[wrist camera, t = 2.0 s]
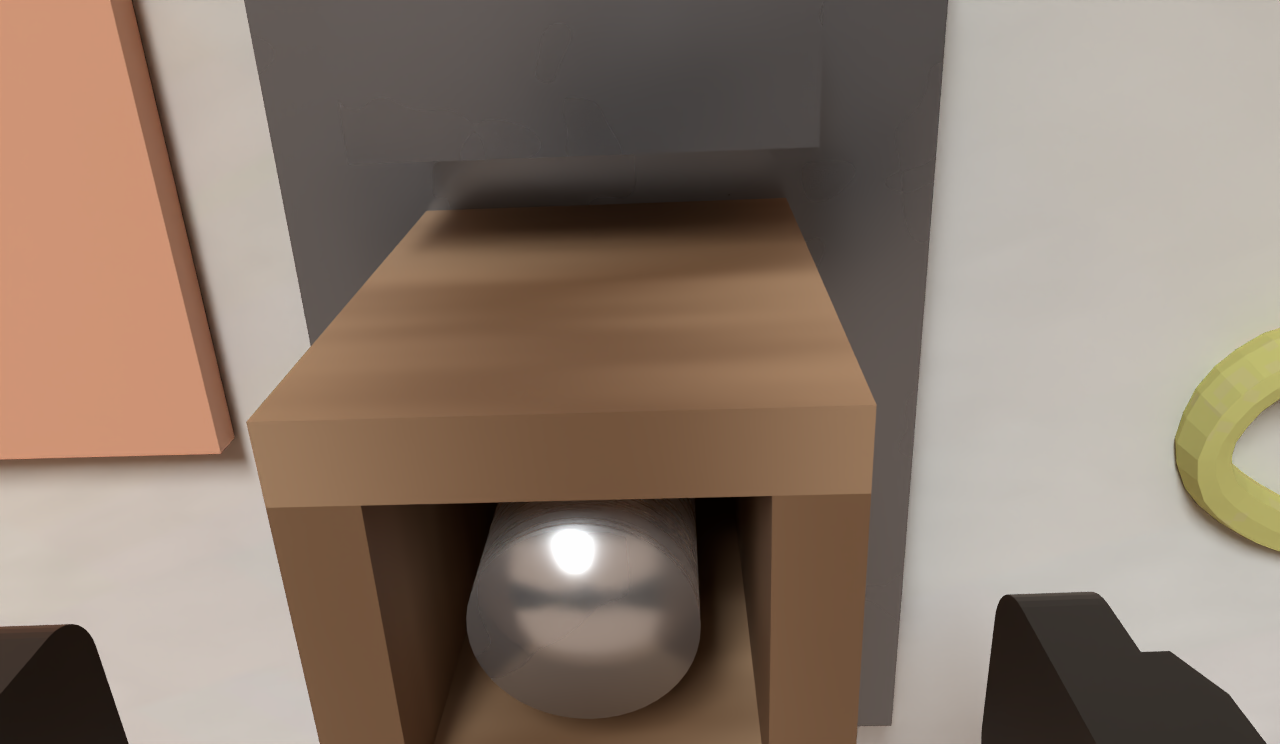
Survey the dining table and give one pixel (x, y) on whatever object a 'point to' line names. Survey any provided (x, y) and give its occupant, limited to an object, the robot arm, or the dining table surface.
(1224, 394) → the key
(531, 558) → the grey clamp base
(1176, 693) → the robot arm
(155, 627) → the dining table surface
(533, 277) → the sleeve
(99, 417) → the tile
